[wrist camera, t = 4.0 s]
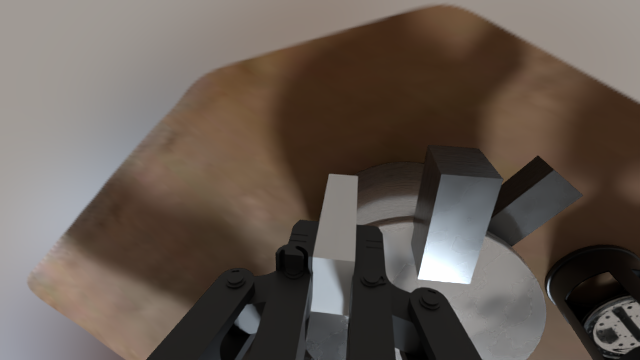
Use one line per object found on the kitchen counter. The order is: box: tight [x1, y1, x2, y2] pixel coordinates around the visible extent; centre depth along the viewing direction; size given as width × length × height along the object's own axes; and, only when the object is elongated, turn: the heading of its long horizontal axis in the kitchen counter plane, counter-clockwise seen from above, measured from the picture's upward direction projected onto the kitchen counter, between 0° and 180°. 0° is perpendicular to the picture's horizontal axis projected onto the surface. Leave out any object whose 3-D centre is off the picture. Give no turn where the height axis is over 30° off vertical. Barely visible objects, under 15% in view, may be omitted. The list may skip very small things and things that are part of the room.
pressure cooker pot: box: [310, 156, 583, 360], centre depth 33 cm, size 28×18×10 cm, turn 143°
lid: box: [306, 145, 546, 360], centre depth 25 cm, size 24×19×5 cm
